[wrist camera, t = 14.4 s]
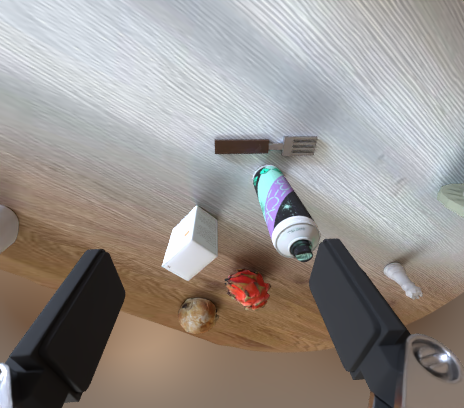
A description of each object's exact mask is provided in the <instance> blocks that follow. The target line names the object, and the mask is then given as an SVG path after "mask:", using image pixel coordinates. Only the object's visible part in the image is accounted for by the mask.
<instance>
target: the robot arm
mask: <svg viewBox="0 0 464 408" xmlns="http://www.w3.org/2000/svg"><path fill="white" fill-rule="evenodd" d="M309 287H310V290H311V292H312V295H313V297H314V299H315V302H316V304H317V306H318V309H319V311H320V313H321V316H322V318H323V320H324V323H325V325H326V327H327V330H328V332H329V334H330V337H331V339H332V341H333V343H334V346H335V348H336V350H337V353H338V355H339V357H340V360H341V362H342V364H343V366H344V368H345V369H346V371H348V372H349V371H350V374H351V376H352V378H353V380H359V379H365V380H366V383H367V384H368V387H369V389H370V391H371V392H370V398H369V404H368V408H464V367H463V365H462V364H461V362H460V361H459V359H458V358H457V357H456V356H455V354H454V353H452V351H451V350H450V349H448V348H447V347H445V345H443V344H442V343H440V342H439V341H437V340H436V339H434V338H432V337H429V336H426V335H423V334H413V335H411V334H410V333H409V331H408V330H407V329H406V327H405V326H404V325H403V323H402V322H401V321H400V319H399V318H398V316H397V315H396V314H395V312H394V311H393V310H392V308H391V307H390V306H389V304H388V303H387V302H386V300H385V299H384V298H383V296H382V295H381V293H380V292H379V291H378V289H377V288H376V287H375V285H374V284H373V283H372V281H371V280H370V279H369V277H368V276H367V275H366V273H365V272H364V271H363V270H362V269H361V268H360V267H359V265H358V264H357V263H356V261H355V260H354V258H353V257H352V256H351V254H350V253H349V252H348V250H347V249H346V248H345V246H344V245H343V243H342V242H341V241H340V240H339V239H324V240H323V242H321V243H320V244H319V248H318V251H317V255H316V258H315V262H314V265H313V269H312V272H311V276H310V280H309ZM124 299H125V290H124V287H123V285H122V283H121V280H120V278H119V276H118V273H117V271H116V268H115V266H114V264H113V261H112V259H111V257H110V254H109V253H108V252H105V250H104V249H92V250H87V251H86V252H85V253H84V254H83V256H82V257H81V258H80V260H79V261H78V263H77V264H76V265H75V267H74V268H73V269H72V271H71V272H70V274H69V275H68V276H67V278H66V279H65V280H64V282H63V283H62V284H61V286H60V287H59V289H58V290H57V291H56V293H55V294H54V296H53V297H52V298H51V300H50V301H49V302H48V304H47V305H46V306H45V308H44V309H43V311H42V312H41V313H40V315H39V316H38V318H37V319H36V320H35V321H34V323H33V324H32V326H31V327H30V329H29V330H28V331H27V332H26V334H25V335H24V337H23V338H22V339H21V341H20V342H19V343H18V345H17V346H16V347H15V349H14V350H13V352H12V353H11V354H10V356H9V358H8V360H7V361H6V362H5V364H4V363H0V408H62V406H63V404H64V403H67V402H79V400H80V398H81V395H82V393H83V392H84V391H86V390H87V389H88V387H89V385H90V383H91V381H92V378H93V376H94V373H95V371H96V368H97V366H98V363H99V361H100V358H101V356H102V354H103V351H104V349H105V346H106V344H107V341H108V339H109V336H110V334H111V331H112V329H113V326H114V324H115V322H116V319H117V317H118V314H119V311H120V309H121V307H122V304H123V302H124Z"/></svg>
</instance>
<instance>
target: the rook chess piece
mask: <svg viewBox="0 0 464 408" xmlns="http://www.w3.org/2000/svg"><path fill="white" fill-rule="evenodd" d="M384 274H385V275H387V277H388V278H390V279H392V280H395V281H396V282H397V283H398V284H399V285H400V286H401V287H402V289H403V290H405V291H406V296H408V297H411V299H415V298H414V297H416V298H417V299H418V298H419V297H418V296H422V294H423V293H422V292H421V288H419V287H417V286H415V283H413V282H412V281H411V280H410V279H409V278H408V276H407V275H406V272H405V269H404V267H402V265H401V264H400V263H395V262H394V263H390V264H388V265H387V266H386V267H385V268H384Z"/></svg>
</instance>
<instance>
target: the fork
mask: <svg viewBox="0 0 464 408" xmlns="http://www.w3.org/2000/svg"><path fill="white" fill-rule="evenodd" d="M294 140H317V136H284V139H283V143H269V139H245V140H215V154H254V153H268V150H282V154H281V155H282V156H293V155H314V152H292V150H315V147H293V145H316V142H293V141H294Z"/></svg>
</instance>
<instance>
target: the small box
mask: <svg viewBox="0 0 464 408" xmlns="http://www.w3.org/2000/svg"><path fill="white" fill-rule="evenodd" d="M217 256H218V221H217V220H216V219H215V218H214V217H212V216H211V215H210V214H208V213H207V212H206V211H204V210H203V209H202V208H200V207H199V206H196V207H195V208H194V209H193V210H192V211H191V212H190V213H189V214H188V215H187V216H186V217H185V218H184V219H183V220H182V221H181V222H180V223H179V224H178V225H177V226H176V227H175V228H174V229H173V231H172V234H171V238H170V241H169V244H168V248H167V251H166V254H165V258H164V261H163V264H162V267H163V268H165V269H167V270H169V271H170V272H172V273H174V274H176V275H178V276H180V277H181V278H183V279H185V280H187V281H189V280H190V279H191V278H193V277H194V276H195V275H196V274H197V273H198V272H200V271H201V270H202V269H203V268H204V267H206V266H207V265H208V264H209V263H210V262H211V261H213V260H214V259H215V258H216V257H217Z"/></svg>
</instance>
